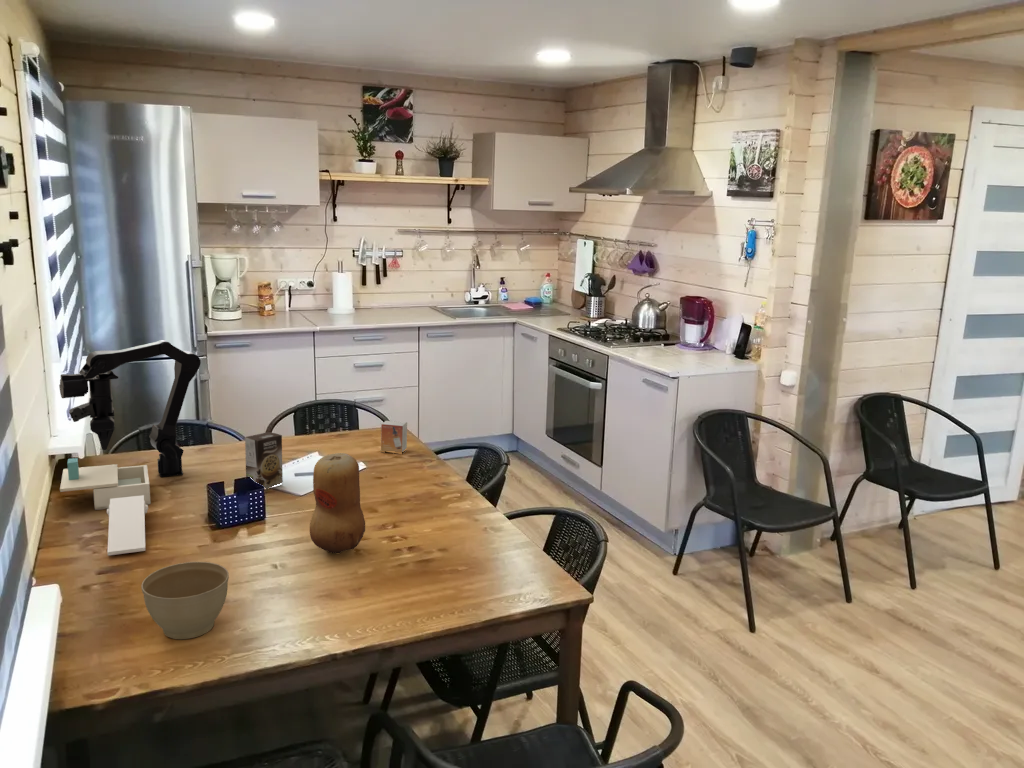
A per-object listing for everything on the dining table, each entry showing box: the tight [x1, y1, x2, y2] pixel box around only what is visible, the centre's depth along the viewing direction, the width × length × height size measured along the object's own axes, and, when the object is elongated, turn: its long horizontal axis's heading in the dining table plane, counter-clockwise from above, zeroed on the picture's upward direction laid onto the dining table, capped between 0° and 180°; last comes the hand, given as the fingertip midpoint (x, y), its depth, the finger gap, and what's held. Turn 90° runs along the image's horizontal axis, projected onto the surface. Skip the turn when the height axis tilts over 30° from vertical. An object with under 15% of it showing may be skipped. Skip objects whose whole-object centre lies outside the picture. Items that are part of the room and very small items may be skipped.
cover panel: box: [59, 457, 119, 493], centre depth 226 cm, size 14×18×6 cm
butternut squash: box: [309, 452, 366, 554], centre depth 198 cm, size 14×13×25 cm
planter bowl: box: [140, 561, 230, 640], centre depth 161 cm, size 16×16×11 cm
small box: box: [380, 420, 408, 452], centre depth 283 cm, size 8×6×10 cm
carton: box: [93, 464, 151, 511], centre depth 231 cm, size 14×18×6 cm
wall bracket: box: [106, 495, 149, 556], centre depth 206 cm, size 10×7×28 cm
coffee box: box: [244, 431, 284, 490], centre depth 243 cm, size 9×6×16 cm
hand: (104, 445), depth 239 cm, fingers open, 9 cm apart
